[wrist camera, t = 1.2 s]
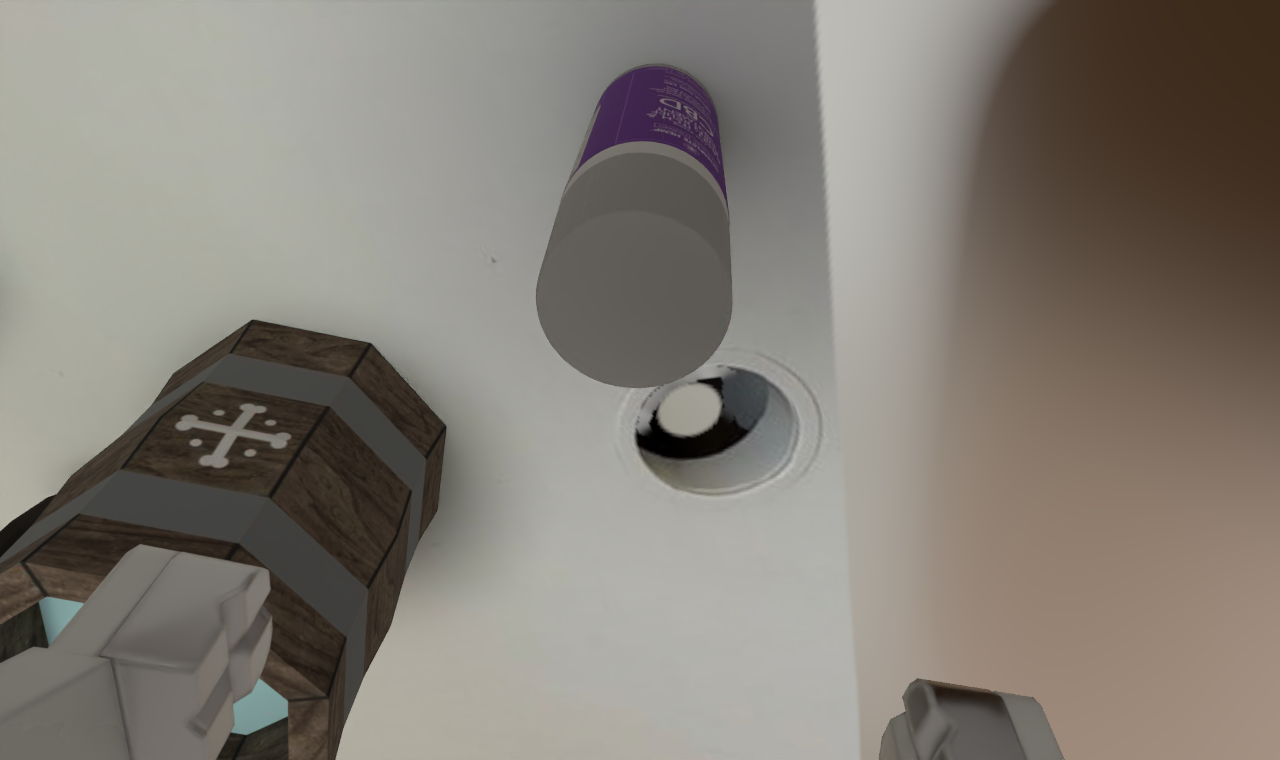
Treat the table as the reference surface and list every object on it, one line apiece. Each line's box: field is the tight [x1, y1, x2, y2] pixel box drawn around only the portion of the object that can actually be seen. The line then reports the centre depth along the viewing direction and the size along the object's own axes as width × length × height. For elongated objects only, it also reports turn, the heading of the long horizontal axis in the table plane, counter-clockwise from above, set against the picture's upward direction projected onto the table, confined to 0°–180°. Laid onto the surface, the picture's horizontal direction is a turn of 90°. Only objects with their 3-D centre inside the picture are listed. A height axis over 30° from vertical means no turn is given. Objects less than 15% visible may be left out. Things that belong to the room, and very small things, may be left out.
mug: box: [0, 320, 446, 760], centre depth 34 cm, size 20×14×15 cm
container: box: [536, 64, 732, 388], centre depth 26 cm, size 5×5×15 cm
